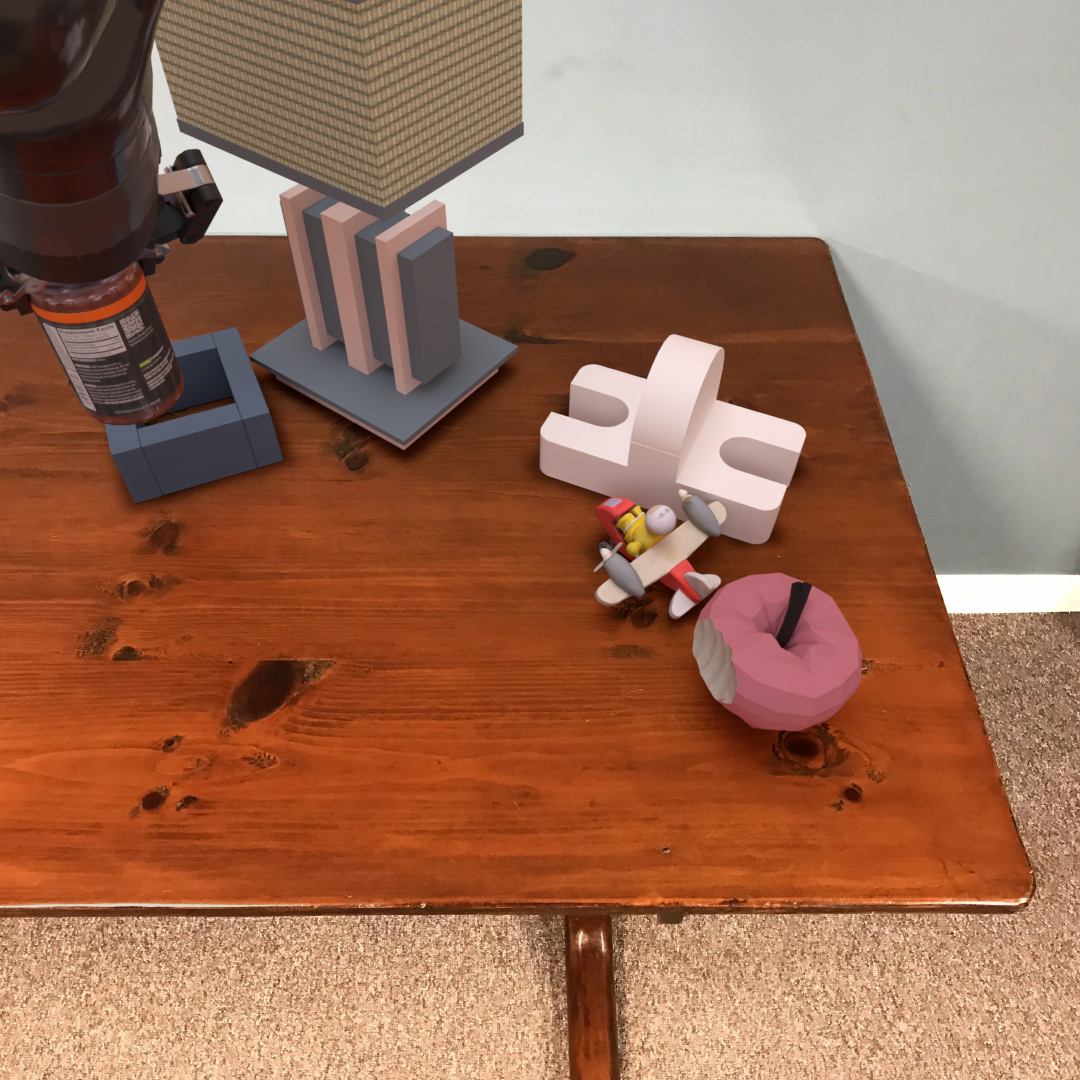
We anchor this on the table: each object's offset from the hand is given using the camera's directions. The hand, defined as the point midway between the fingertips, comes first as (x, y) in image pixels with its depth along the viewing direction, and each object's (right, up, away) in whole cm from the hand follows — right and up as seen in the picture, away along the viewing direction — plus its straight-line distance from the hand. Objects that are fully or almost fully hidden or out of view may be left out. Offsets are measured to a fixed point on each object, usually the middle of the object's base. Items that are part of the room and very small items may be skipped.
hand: (80, 277), depth 49 cm
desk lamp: (+12, -1, +26) cm, 29 cm away
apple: (+39, -24, +7) cm, 46 cm away
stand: (-2, -6, +21) cm, 22 cm away
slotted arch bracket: (+35, -9, +20) cm, 41 cm away
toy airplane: (+33, -17, +13) cm, 40 cm away
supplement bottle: (+1, -6, +5) cm, 8 cm away
